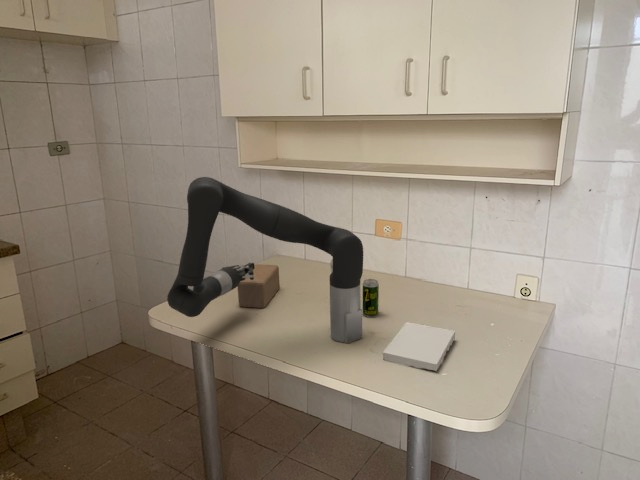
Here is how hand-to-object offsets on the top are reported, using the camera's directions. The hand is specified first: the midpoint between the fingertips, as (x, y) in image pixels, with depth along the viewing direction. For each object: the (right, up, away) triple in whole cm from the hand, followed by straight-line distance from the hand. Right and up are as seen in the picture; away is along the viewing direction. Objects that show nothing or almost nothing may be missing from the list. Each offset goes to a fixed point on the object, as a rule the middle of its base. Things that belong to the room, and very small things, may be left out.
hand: (252, 265), depth 161 cm
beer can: (+41, -17, -3) cm, 44 cm away
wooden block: (-1, -11, +3) cm, 11 cm away
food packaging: (+52, -24, -27) cm, 63 cm away
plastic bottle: (+30, -14, +8) cm, 34 cm away
